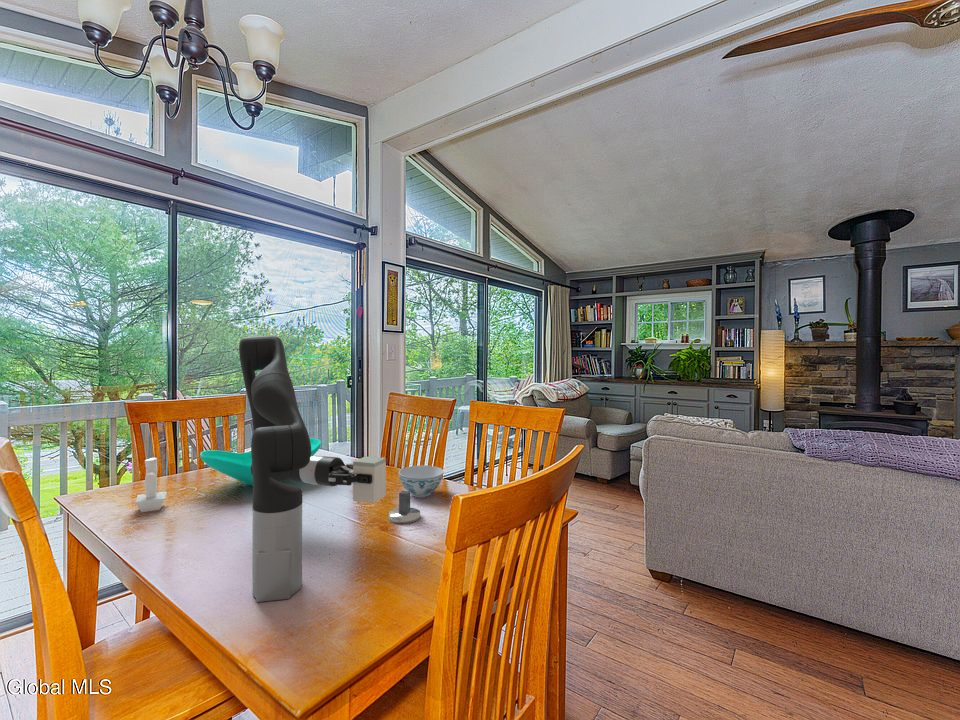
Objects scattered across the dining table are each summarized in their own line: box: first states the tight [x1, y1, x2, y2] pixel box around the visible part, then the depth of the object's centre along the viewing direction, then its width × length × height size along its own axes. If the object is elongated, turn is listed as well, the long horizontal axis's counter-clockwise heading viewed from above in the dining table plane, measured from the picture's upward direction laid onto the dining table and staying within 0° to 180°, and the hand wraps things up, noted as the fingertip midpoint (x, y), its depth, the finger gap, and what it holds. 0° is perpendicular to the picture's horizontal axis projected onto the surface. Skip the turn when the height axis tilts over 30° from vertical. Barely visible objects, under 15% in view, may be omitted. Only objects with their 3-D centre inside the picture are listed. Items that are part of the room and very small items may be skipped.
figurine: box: [134, 457, 168, 513], centre depth 134 cm, size 7×9×15 cm
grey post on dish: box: [388, 490, 421, 525], centre depth 130 cm, size 9×9×8 cm
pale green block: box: [352, 456, 387, 504], centre depth 117 cm, size 6×6×10 cm
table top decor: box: [199, 437, 323, 487], centre depth 160 cm, size 40×28×13 cm
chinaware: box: [398, 465, 445, 498], centre depth 151 cm, size 15×15×8 cm
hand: (378, 475), depth 116 cm, fingers closed on pale green block, 6 cm apart
